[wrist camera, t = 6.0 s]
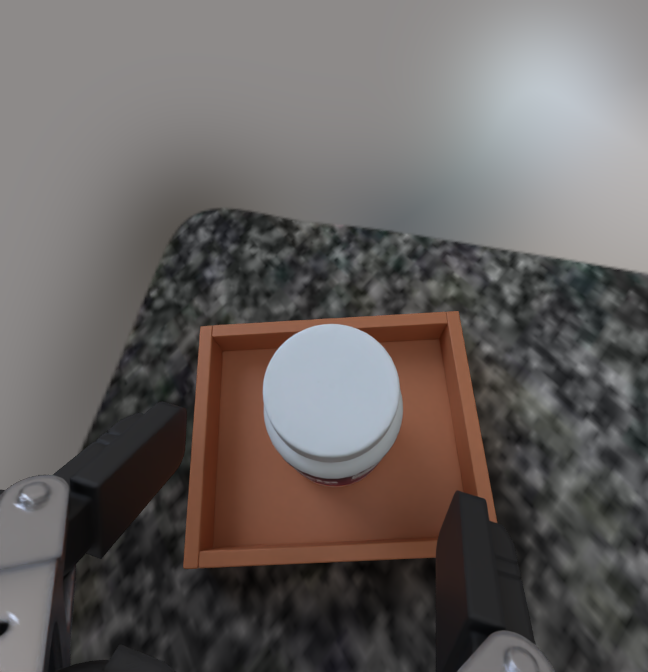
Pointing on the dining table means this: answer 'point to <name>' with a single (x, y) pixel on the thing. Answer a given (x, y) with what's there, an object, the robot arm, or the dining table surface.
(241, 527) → the tray
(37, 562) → the robot arm
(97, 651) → the dining table surface
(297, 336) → the pill bottle
